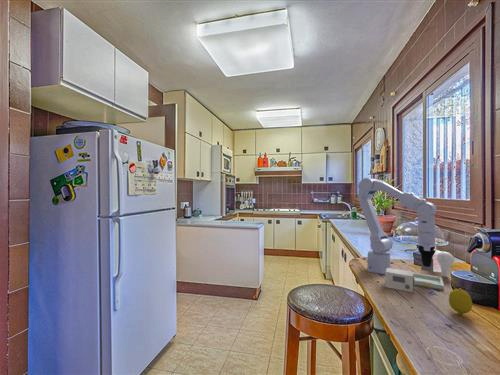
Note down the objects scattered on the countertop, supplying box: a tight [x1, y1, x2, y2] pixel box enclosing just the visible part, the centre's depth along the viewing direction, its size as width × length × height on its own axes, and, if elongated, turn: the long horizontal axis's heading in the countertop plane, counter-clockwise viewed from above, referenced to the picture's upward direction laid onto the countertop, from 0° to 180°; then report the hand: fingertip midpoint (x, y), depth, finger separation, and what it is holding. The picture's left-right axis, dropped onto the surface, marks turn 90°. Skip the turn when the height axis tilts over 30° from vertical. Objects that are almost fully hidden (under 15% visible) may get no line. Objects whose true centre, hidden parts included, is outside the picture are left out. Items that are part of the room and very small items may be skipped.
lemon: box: [448, 287, 473, 315], centre depth 77 cm, size 6×6×8 cm
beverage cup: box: [433, 240, 443, 273], centre depth 118 cm, size 6×6×14 cm
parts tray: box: [413, 272, 445, 291], centre depth 102 cm, size 11×11×2 cm
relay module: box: [420, 256, 434, 273], centre depth 102 cm, size 4×4×5 cm
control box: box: [385, 267, 415, 293], centre depth 98 cm, size 10×6×6 cm
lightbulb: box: [437, 251, 455, 278], centre depth 109 cm, size 6×6×11 cm
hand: (426, 264), depth 102 cm, fingers closed on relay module, 4 cm apart
